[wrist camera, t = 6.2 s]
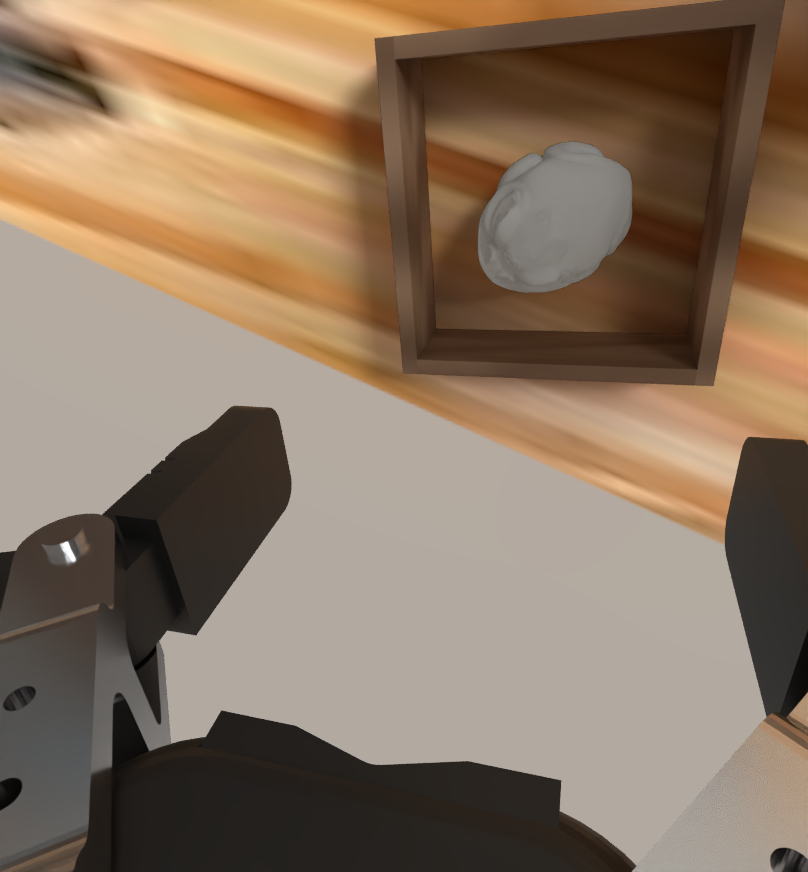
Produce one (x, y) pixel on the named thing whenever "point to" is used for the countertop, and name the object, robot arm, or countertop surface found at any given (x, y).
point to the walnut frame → (725, 212)
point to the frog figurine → (554, 218)
